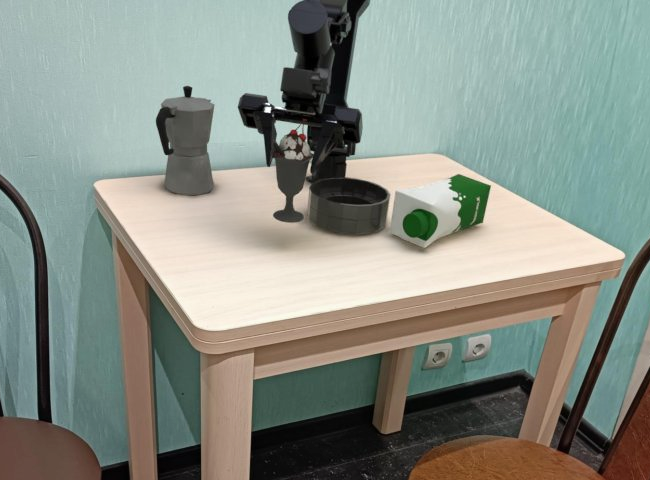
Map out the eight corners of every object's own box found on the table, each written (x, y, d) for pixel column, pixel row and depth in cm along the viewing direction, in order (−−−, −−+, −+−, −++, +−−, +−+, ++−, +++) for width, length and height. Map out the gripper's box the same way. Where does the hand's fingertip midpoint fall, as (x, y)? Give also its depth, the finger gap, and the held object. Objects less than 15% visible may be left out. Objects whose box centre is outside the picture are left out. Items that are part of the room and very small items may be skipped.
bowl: (291, 214, 135) (293, 184, 132) (350, 201, 143) (353, 172, 140) (342, 242, 127) (345, 211, 123) (402, 227, 135) (407, 197, 132)
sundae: (314, 213, 122) (322, 118, 114) (302, 227, 117) (309, 129, 108) (275, 205, 124) (280, 111, 115) (262, 220, 118) (266, 122, 110)
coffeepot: (188, 172, 148) (187, 75, 138) (229, 183, 145) (231, 84, 135) (138, 193, 137) (133, 89, 127) (182, 206, 134) (180, 100, 124)
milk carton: (486, 229, 138) (418, 255, 125) (446, 213, 142) (377, 237, 130) (496, 181, 133) (427, 204, 120) (455, 166, 138) (384, 187, 125)
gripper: (242, 35, 110) (218, 132, 108) (368, 52, 108) (347, 151, 106) (255, 80, 121) (234, 169, 119) (370, 96, 119) (351, 187, 116)
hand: (289, 168), depth 115 cm, fingers closed on sundae, 6 cm apart
